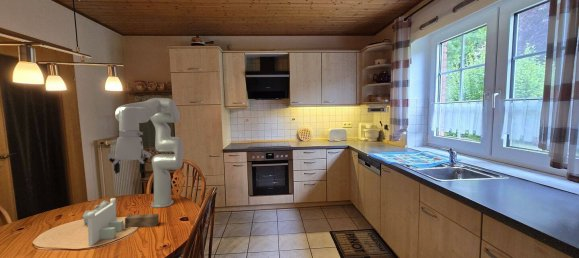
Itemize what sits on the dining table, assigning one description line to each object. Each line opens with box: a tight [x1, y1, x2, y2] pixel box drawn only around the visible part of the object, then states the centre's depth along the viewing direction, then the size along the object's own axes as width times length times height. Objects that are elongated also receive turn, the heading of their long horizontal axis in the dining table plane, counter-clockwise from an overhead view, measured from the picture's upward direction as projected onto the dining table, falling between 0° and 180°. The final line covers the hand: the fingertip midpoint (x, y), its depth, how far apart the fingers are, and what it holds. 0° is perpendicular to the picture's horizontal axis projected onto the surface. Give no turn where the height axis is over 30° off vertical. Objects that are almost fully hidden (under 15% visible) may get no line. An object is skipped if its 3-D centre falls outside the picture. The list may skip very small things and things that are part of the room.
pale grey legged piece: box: [87, 197, 124, 247], centre depth 117 cm, size 20×7×14 cm, turn 10°
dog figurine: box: [82, 200, 110, 227], centre depth 130 cm, size 5×13×11 cm, turn 147°
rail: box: [124, 213, 160, 229], centre depth 127 cm, size 14×4×5 cm, turn 100°
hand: (129, 172), depth 113 cm, fingers open, 9 cm apart
